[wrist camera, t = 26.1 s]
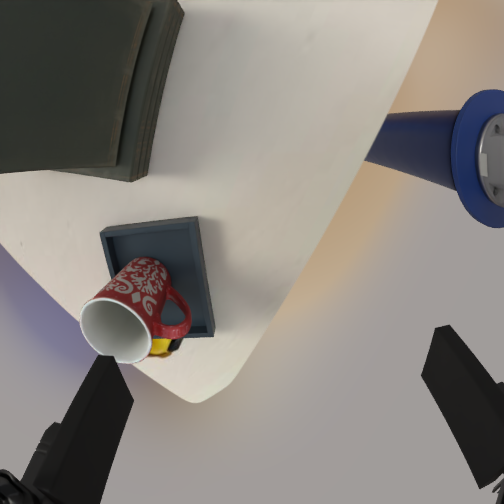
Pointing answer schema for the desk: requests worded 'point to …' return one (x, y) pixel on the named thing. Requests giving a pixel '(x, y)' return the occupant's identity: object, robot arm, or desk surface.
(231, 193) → the desk surface
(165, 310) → the tray
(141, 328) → the mug
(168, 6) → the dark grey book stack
